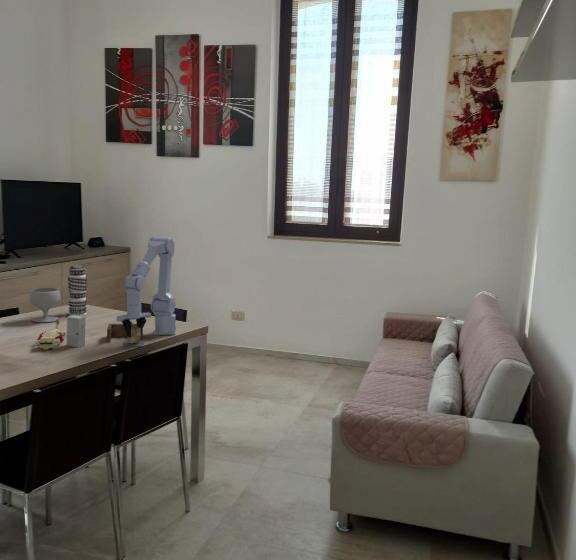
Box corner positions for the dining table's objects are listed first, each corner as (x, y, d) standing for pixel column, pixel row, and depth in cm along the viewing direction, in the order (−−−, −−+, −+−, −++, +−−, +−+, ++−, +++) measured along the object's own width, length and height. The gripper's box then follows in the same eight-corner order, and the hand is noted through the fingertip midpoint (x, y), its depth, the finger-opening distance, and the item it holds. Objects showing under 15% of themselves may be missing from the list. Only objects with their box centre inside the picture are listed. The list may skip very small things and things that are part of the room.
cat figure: (46, 338, 240) (31, 350, 216) (46, 318, 240) (31, 327, 215) (70, 338, 242) (58, 349, 218) (70, 318, 242) (58, 327, 217)
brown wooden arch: (142, 335, 247) (142, 323, 246) (142, 341, 237) (142, 329, 236) (109, 335, 243) (109, 323, 243) (107, 342, 234) (107, 329, 233)
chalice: (43, 325, 257) (43, 293, 255) (23, 321, 263) (22, 290, 261) (67, 319, 270) (67, 289, 268) (47, 315, 276) (46, 286, 274)
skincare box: (66, 345, 226) (65, 316, 224) (73, 343, 230) (73, 314, 228) (78, 347, 224) (78, 318, 222) (86, 344, 228) (85, 316, 226)
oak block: (136, 339, 234) (136, 326, 233) (140, 342, 231) (140, 328, 230) (127, 341, 232) (127, 327, 231) (131, 343, 229) (131, 329, 228)
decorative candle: (64, 315, 278) (63, 266, 274) (74, 311, 287) (73, 264, 284) (81, 316, 277) (80, 267, 273) (90, 313, 286) (90, 265, 282)
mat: (144, 342, 236) (144, 340, 236) (143, 347, 229) (143, 345, 229) (124, 342, 234) (124, 341, 234) (123, 347, 227) (123, 346, 227)
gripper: (145, 301, 237) (145, 331, 239) (113, 304, 227) (113, 336, 229) (153, 303, 231) (153, 335, 233) (120, 307, 222) (120, 340, 224)
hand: (134, 336), depth 231 cm, fingers closed on oak block, 4 cm apart
